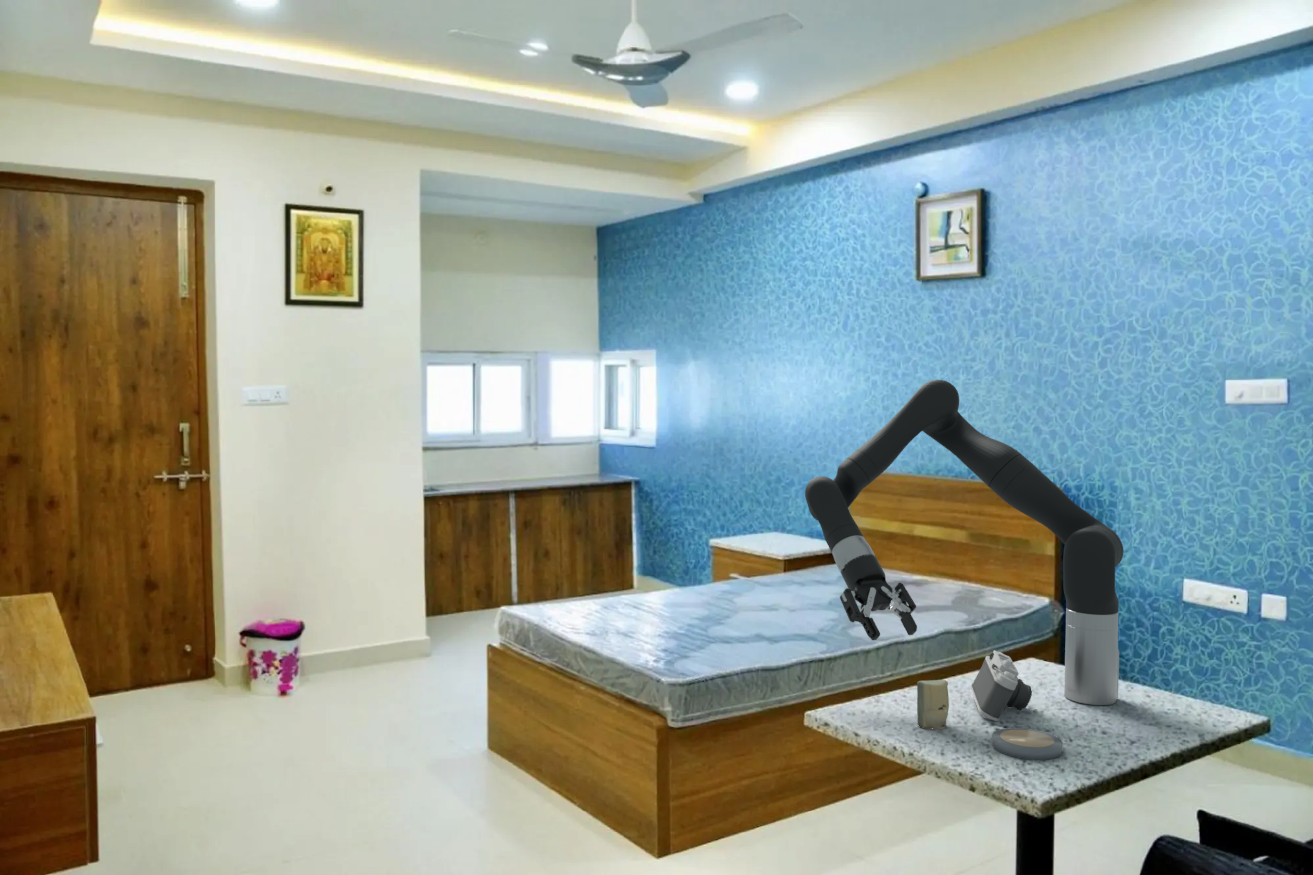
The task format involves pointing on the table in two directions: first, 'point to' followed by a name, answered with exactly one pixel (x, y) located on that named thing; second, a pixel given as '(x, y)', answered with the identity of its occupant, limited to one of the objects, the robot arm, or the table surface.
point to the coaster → (1027, 743)
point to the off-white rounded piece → (932, 703)
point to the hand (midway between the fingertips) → (895, 635)
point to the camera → (999, 687)
